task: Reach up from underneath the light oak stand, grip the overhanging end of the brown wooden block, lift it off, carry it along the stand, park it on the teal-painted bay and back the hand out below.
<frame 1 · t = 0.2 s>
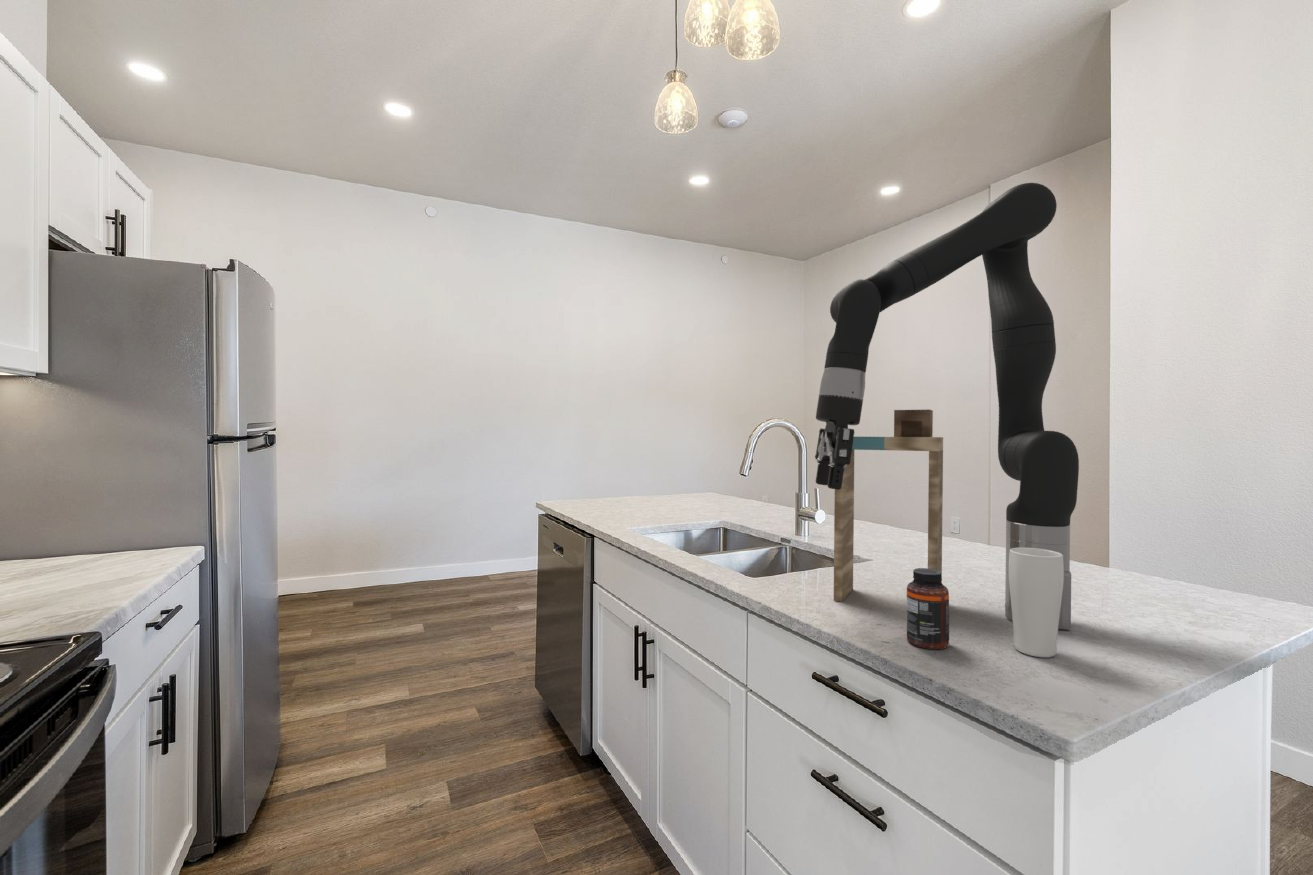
hand: (827, 486, 99), 23 cm above the worktop, tool pointing down, fingers open, 8 cm apart
supplement bottle: (927, 644, 86), on the worktop
oak stand: (887, 601, 108), on the worktop
drinking glass: (1034, 653, 83), on the worktop
brown wooden block: (917, 437, 109), point 32 cm above the worktop, touching oak stand
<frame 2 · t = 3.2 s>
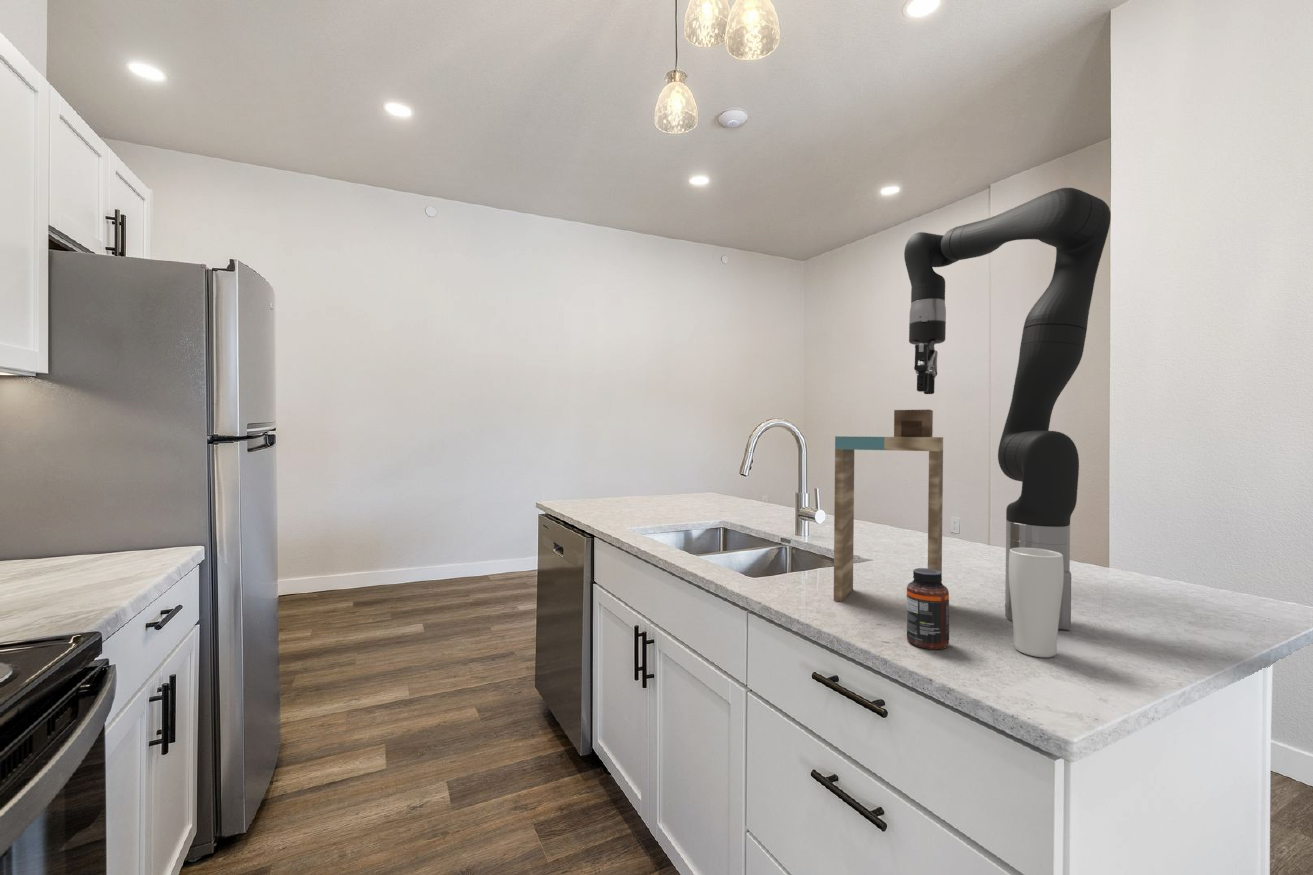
hand: (925, 392, 127), 42 cm above the worktop, tool pointing down, fingers open, 8 cm apart
nothing on the worktop moved.
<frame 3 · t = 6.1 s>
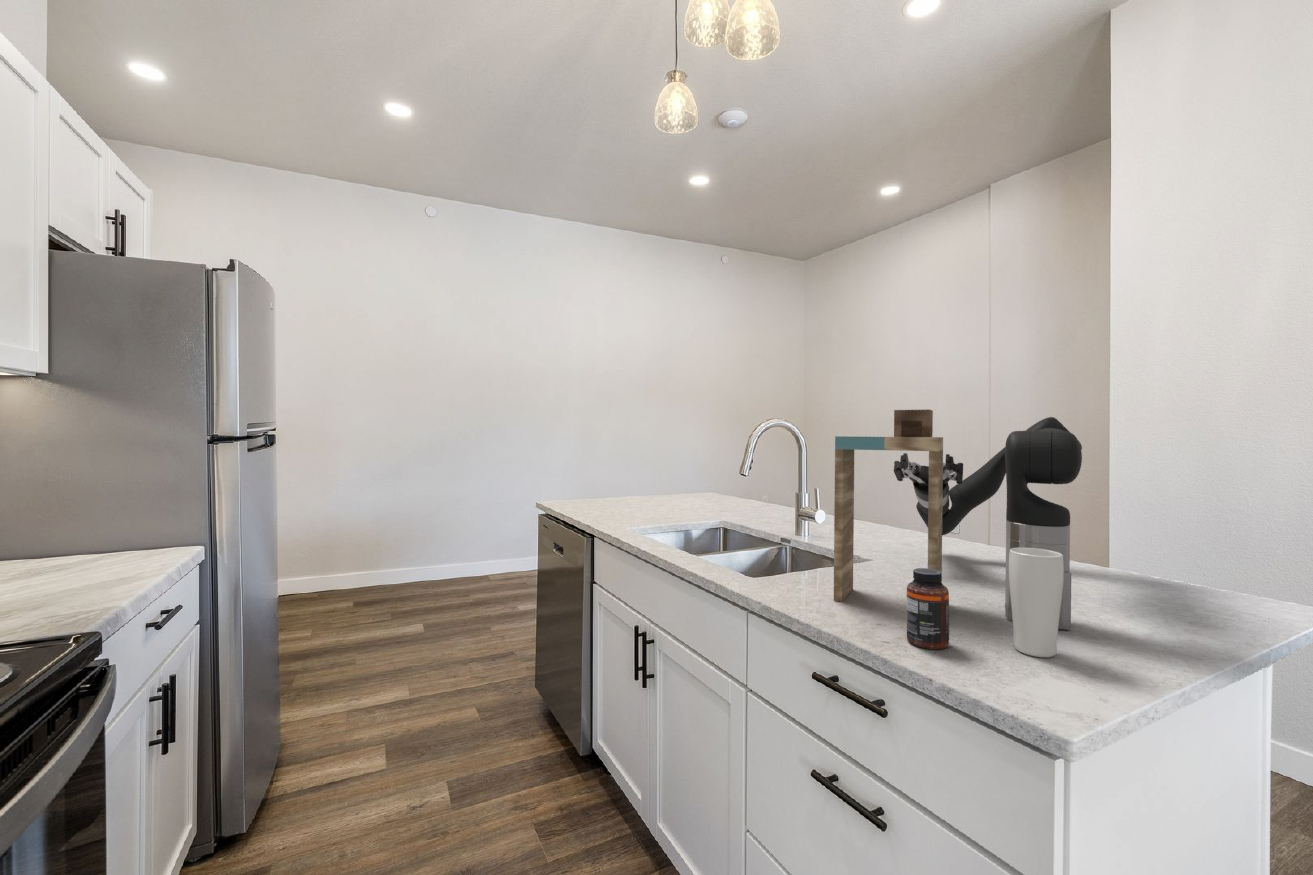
hand: (925, 457, 123), 28 cm above the worktop, tool pointing upward, fingers open, 8 cm apart
nothing on the worktop moved.
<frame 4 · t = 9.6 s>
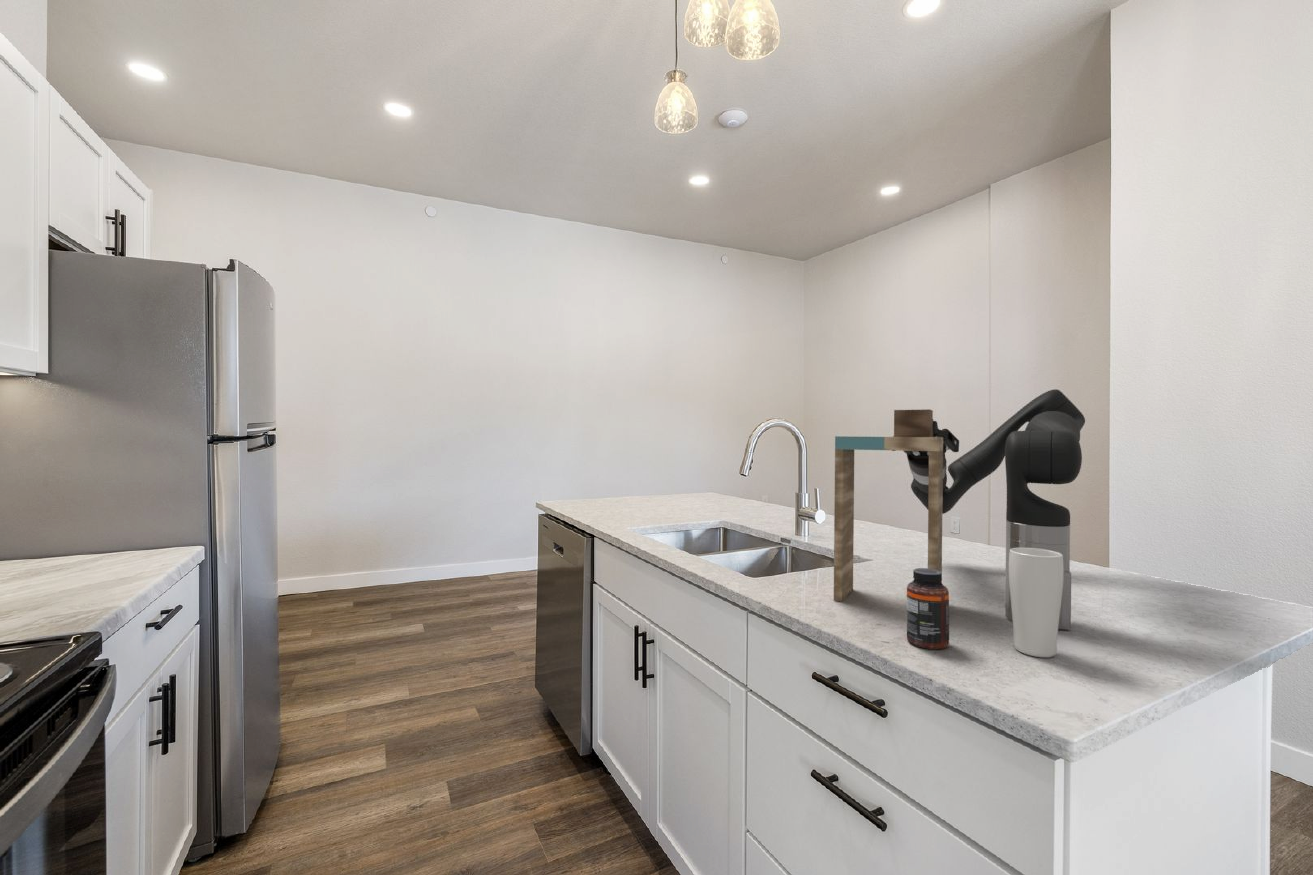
hand: (919, 422, 112), 35 cm above the worktop, tool pointing upward, fingers closed on brown wooden block, 3 cm apart
brown wooden block: (917, 437, 109), point 32 cm above the worktop, touching gripper, oak stand
everything else where it was.
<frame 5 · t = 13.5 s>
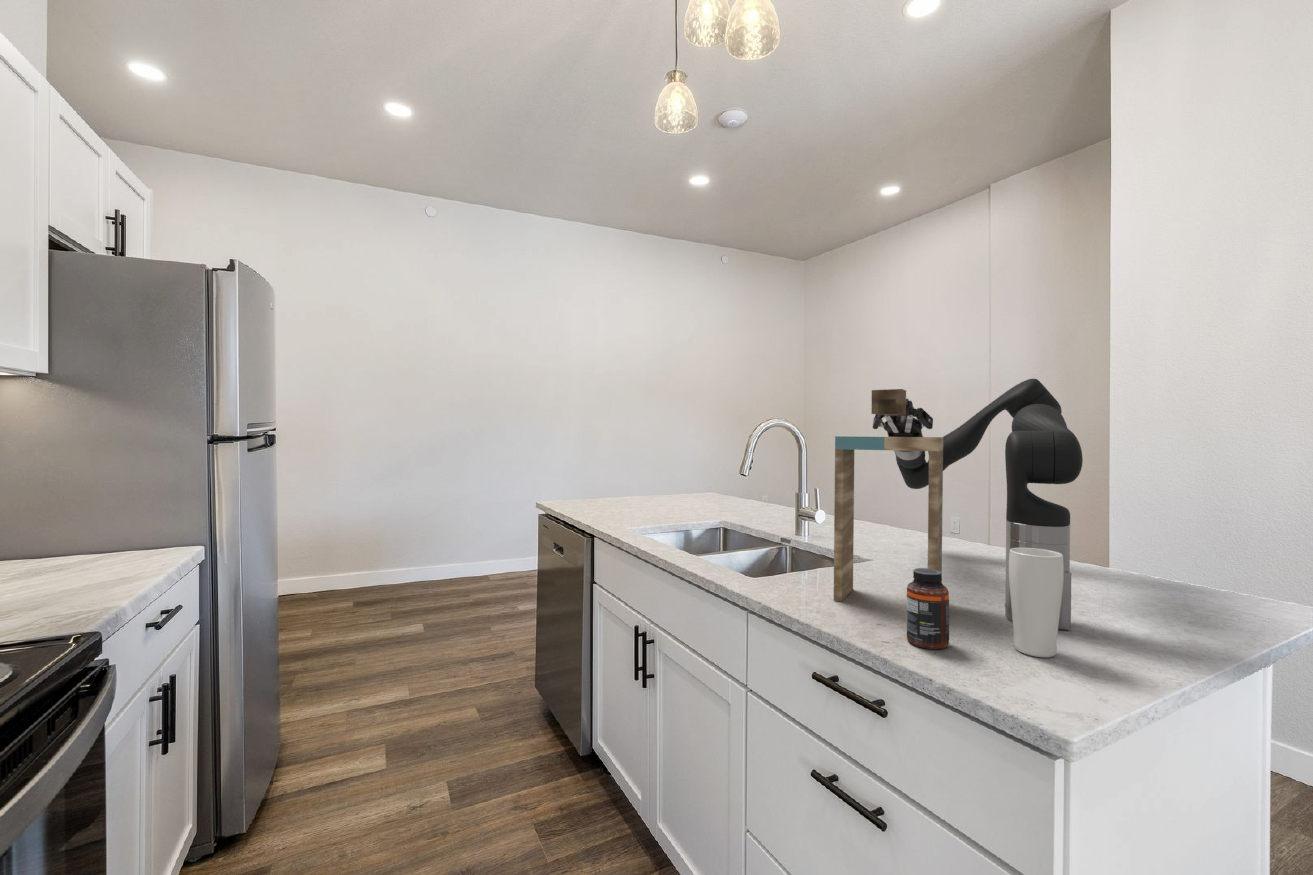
hand: (896, 402, 126), 40 cm above the worktop, tool pointing upward, fingers closed on brown wooden block, 3 cm apart
brown wooden block: (894, 414, 123), point 37 cm above the worktop, touching gripper
everything else where it was.
when the fingers open (36 cm above the worktop, at t = 17.5 s): brown wooden block stays where it is, resting on oak stand.
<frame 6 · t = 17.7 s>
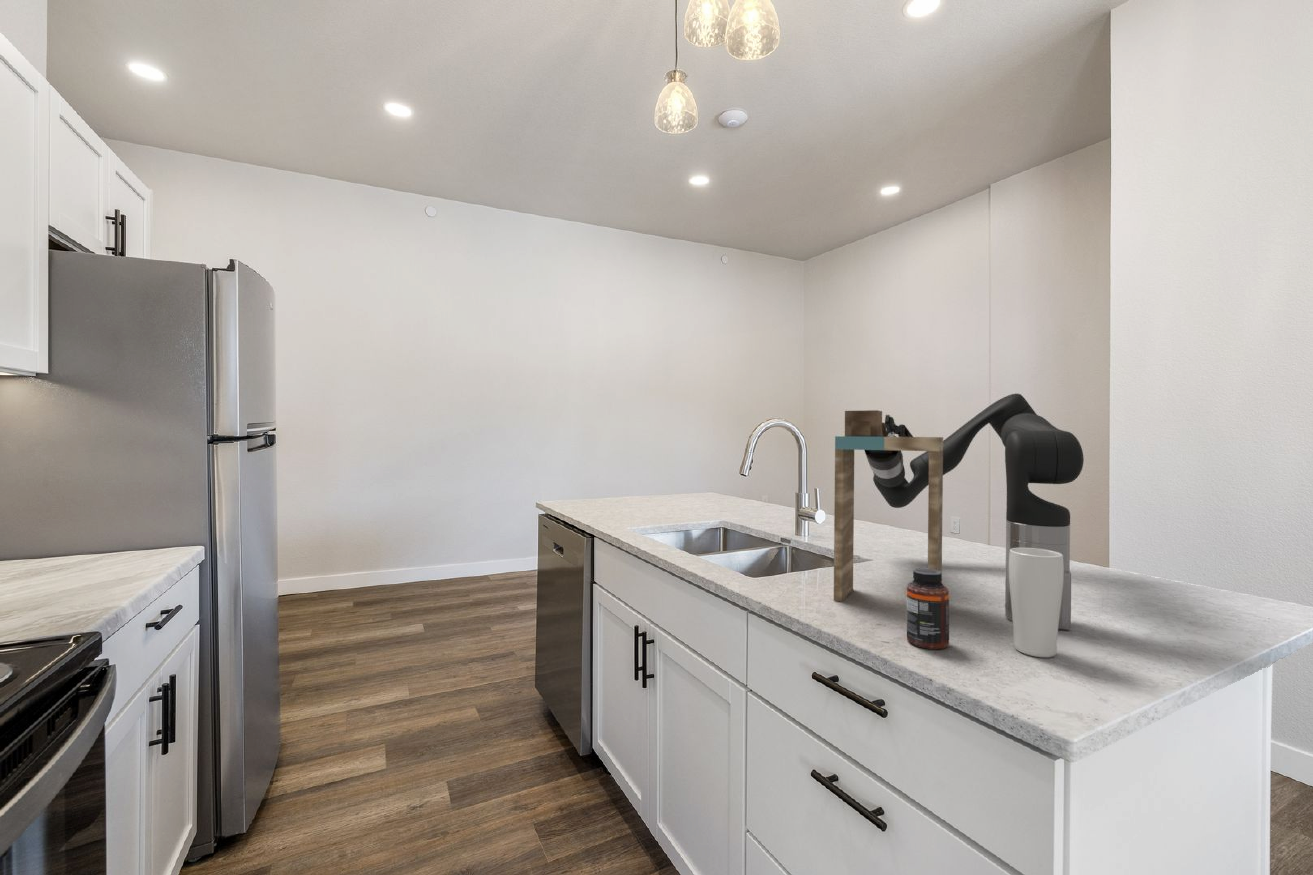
hand: (872, 418, 117), 36 cm above the worktop, tool pointing upward, fingers open, 5 cm apart
brown wooden block: (869, 436, 114), point 32 cm above the worktop, touching oak stand
everything else where it was.
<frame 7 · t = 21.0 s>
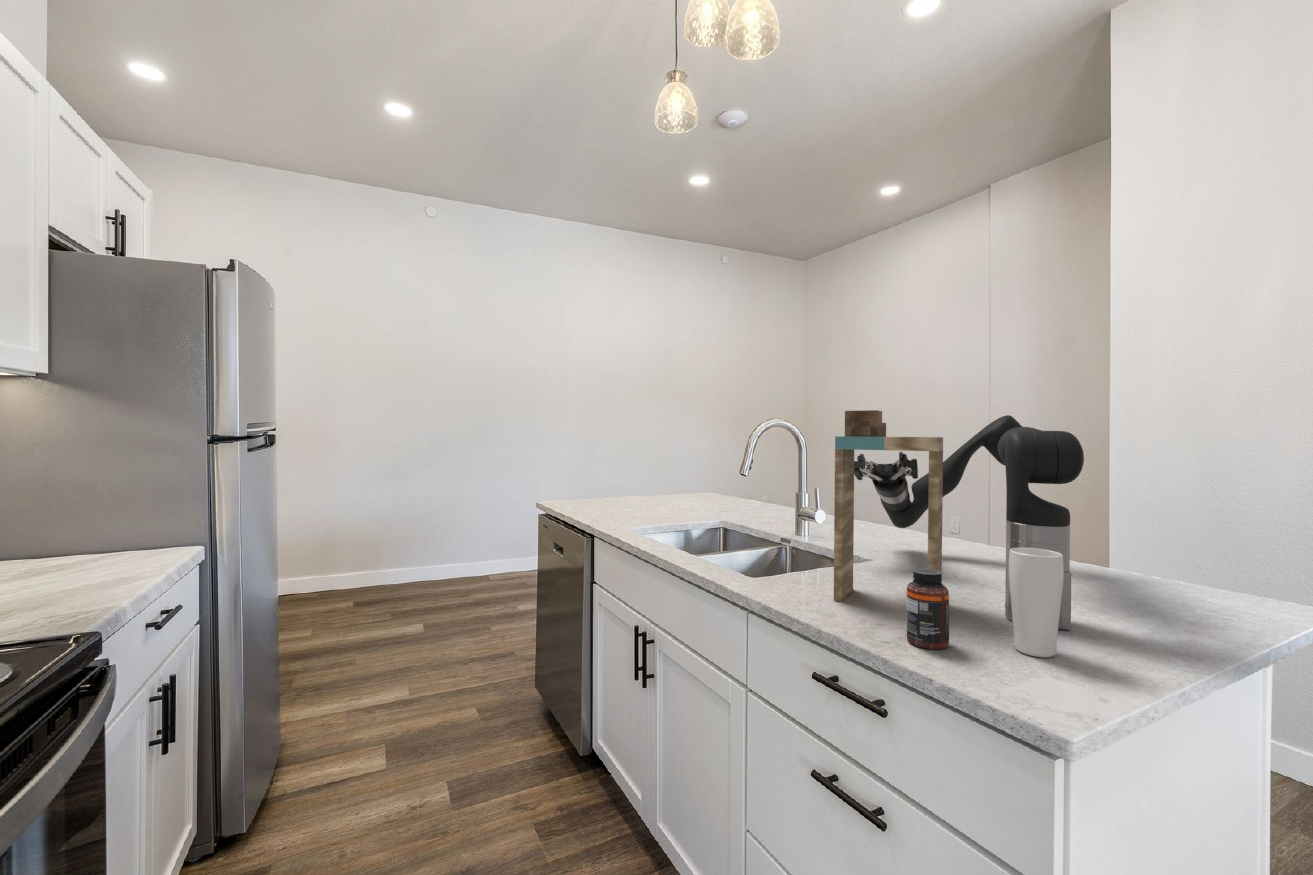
hand: (880, 456, 127), 27 cm above the worktop, tool pointing upward, fingers open, 8 cm apart
nothing on the worktop moved.
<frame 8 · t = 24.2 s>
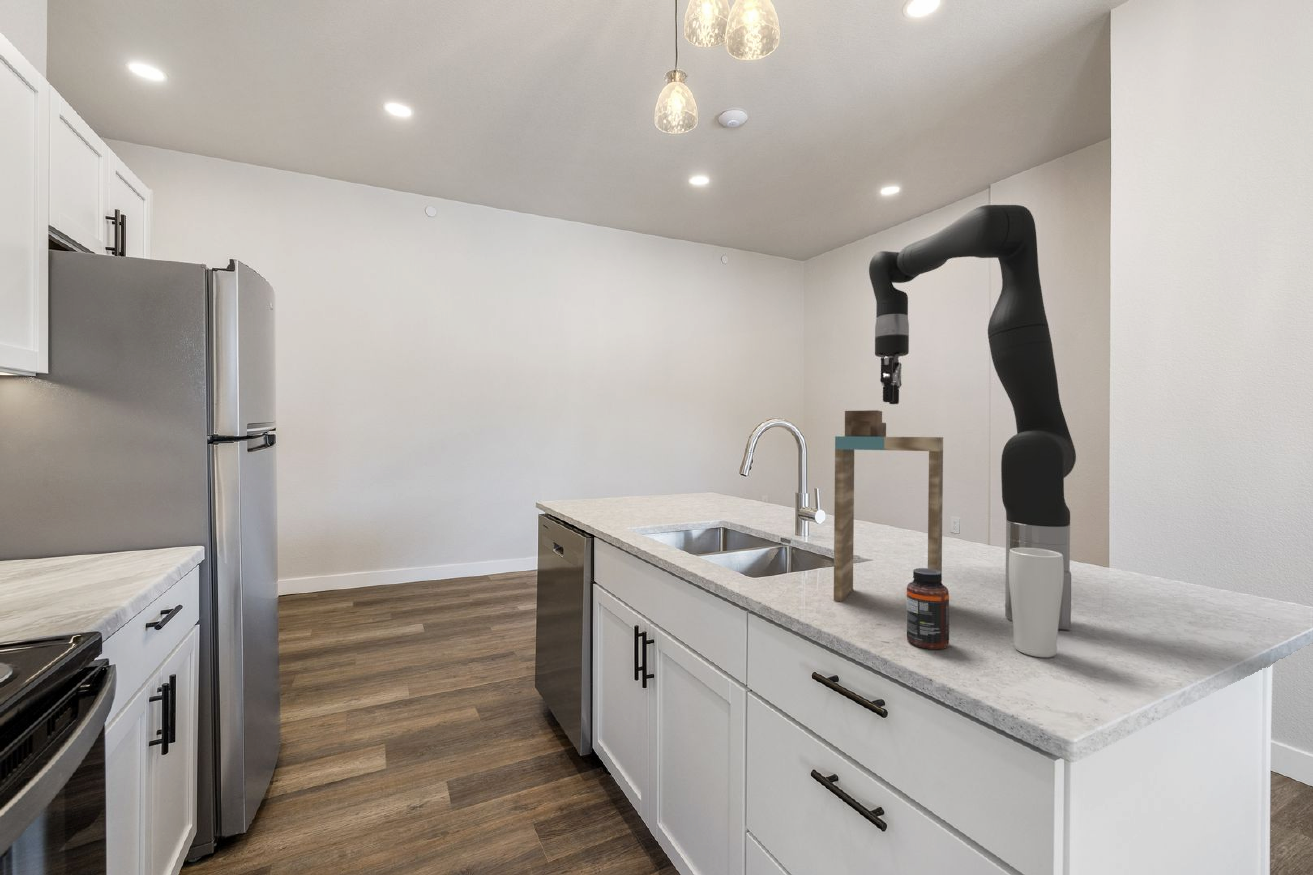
hand: (891, 403, 134), 40 cm above the worktop, tool pointing down, fingers open, 8 cm apart
nothing on the worktop moved.
at the end: brown wooden block 0.1 cm from the target spot, point 32.0 cm above the worktop; brown wooden block tilted 0°; the gripper is holding nothing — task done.
